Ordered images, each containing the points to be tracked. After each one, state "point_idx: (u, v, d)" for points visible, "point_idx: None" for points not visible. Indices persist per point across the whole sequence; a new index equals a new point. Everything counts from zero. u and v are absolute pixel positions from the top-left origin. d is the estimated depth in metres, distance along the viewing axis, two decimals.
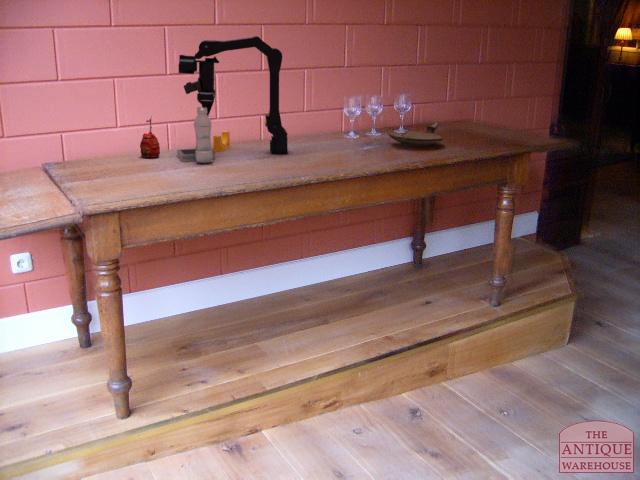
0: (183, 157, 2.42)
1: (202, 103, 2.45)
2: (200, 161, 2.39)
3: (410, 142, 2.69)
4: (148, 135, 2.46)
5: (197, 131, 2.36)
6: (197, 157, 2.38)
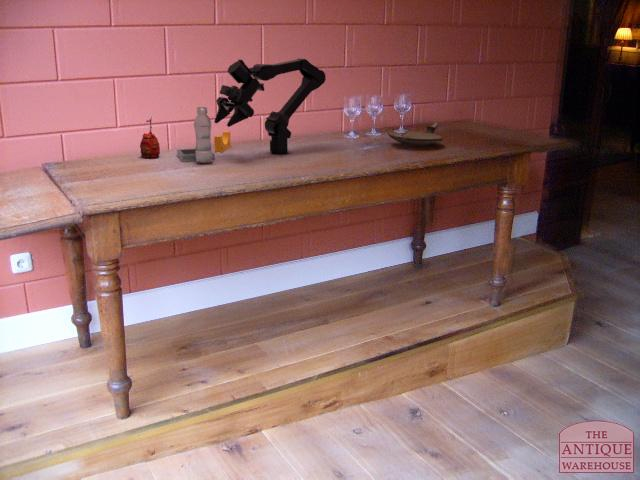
0: (183, 157, 2.42)
1: (237, 112, 2.37)
2: (200, 161, 2.39)
3: (410, 142, 2.69)
4: (148, 135, 2.46)
5: (197, 131, 2.36)
6: (197, 157, 2.38)
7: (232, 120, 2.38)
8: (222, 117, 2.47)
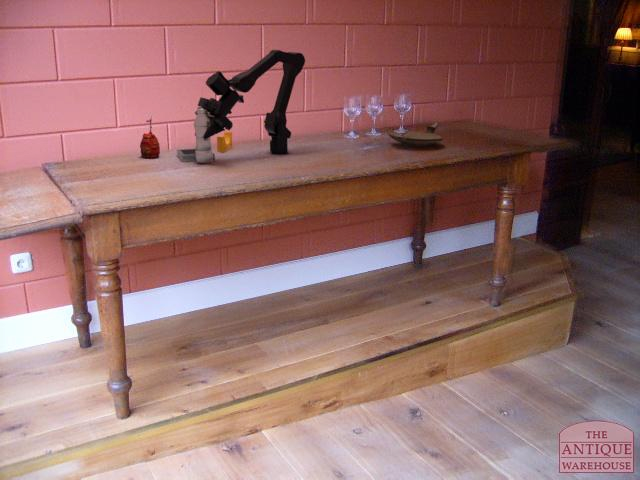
0: (183, 157, 2.42)
1: (214, 124, 2.34)
2: (200, 161, 2.39)
3: (410, 142, 2.69)
4: (148, 135, 2.46)
5: (197, 131, 2.36)
6: (197, 157, 2.38)
7: (208, 132, 2.35)
8: None
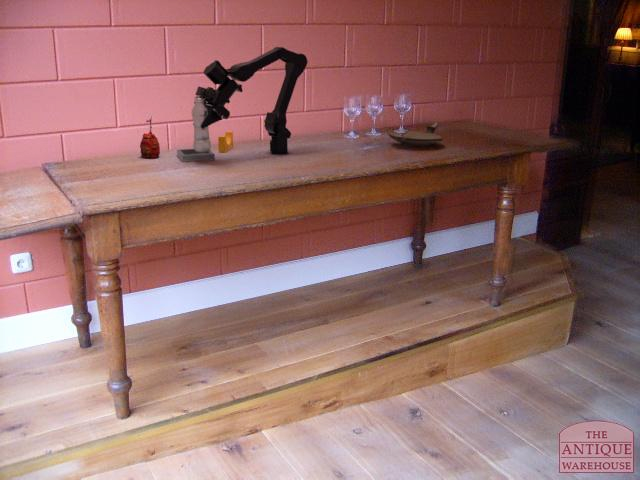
0: (183, 157, 2.42)
1: (211, 113, 2.34)
2: (198, 150, 2.39)
3: (410, 142, 2.69)
4: (148, 135, 2.46)
5: (195, 120, 2.36)
6: (195, 146, 2.39)
7: (206, 122, 2.35)
8: None
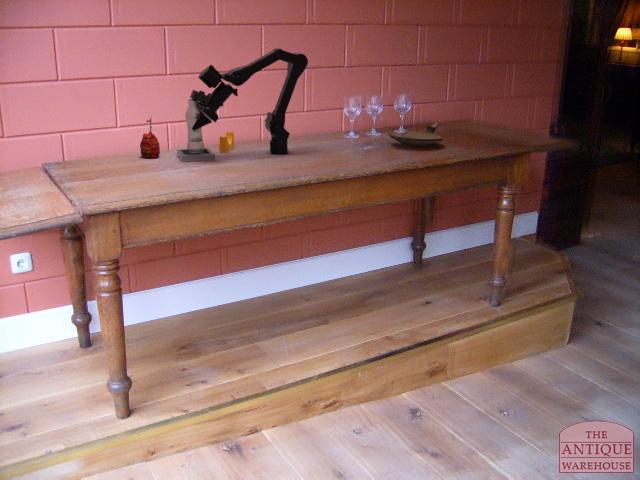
0: (183, 157, 2.42)
1: (201, 116, 2.41)
2: (190, 151, 2.47)
3: (410, 142, 2.69)
4: (148, 135, 2.46)
5: (187, 122, 2.44)
6: (187, 147, 2.47)
7: (196, 124, 2.42)
8: None
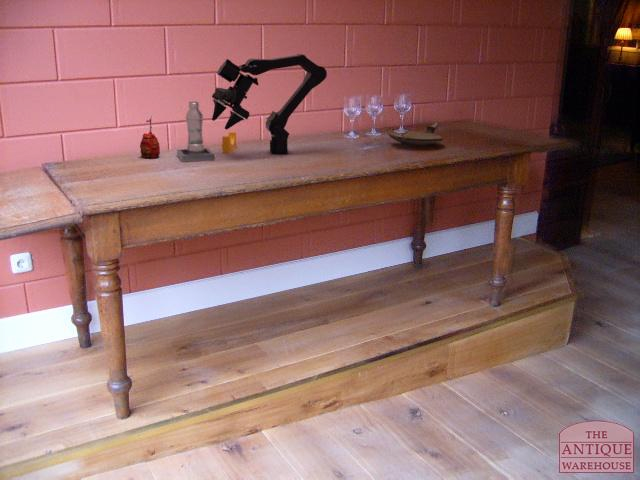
0: (183, 157, 2.42)
1: (233, 116, 2.44)
2: (190, 153, 2.47)
3: (410, 142, 2.69)
4: (148, 135, 2.46)
5: (187, 124, 2.44)
6: (188, 149, 2.47)
7: (229, 123, 2.46)
8: (219, 113, 2.54)
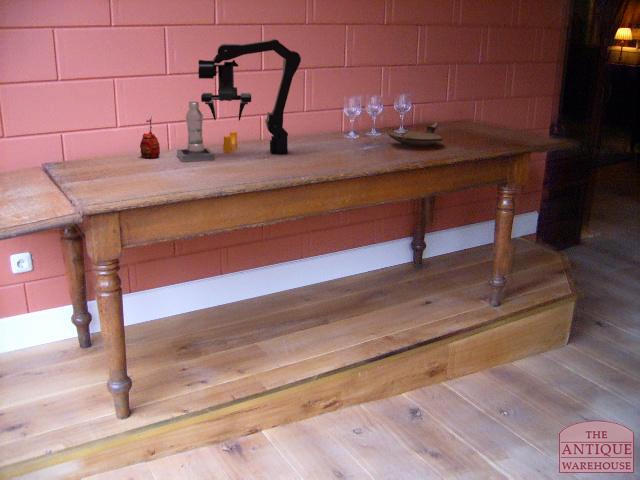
0: (183, 157, 2.42)
1: None
2: (190, 153, 2.47)
3: (410, 142, 2.69)
4: (148, 135, 2.46)
5: (187, 124, 2.44)
6: (188, 149, 2.47)
7: None
8: (214, 110, 2.53)
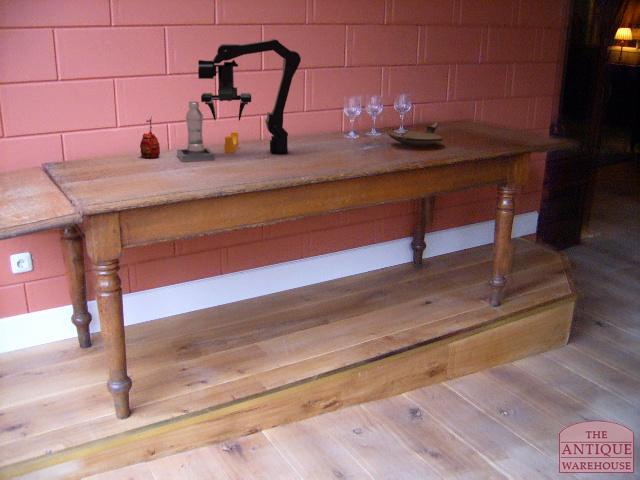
0: (183, 157, 2.42)
1: None
2: (190, 153, 2.47)
3: (410, 142, 2.69)
4: (148, 135, 2.46)
5: (187, 124, 2.44)
6: (188, 149, 2.47)
7: None
8: (214, 110, 2.53)
